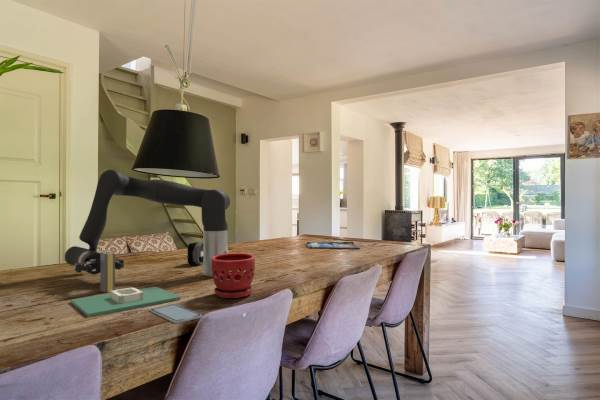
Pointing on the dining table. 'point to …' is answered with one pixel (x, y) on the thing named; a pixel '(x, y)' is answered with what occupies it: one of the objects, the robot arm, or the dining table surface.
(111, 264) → the keyed plug
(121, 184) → the robot arm
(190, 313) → the smartphone
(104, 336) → the dining table surface
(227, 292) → the plant pot
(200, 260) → the cpu cooler
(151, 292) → the board
